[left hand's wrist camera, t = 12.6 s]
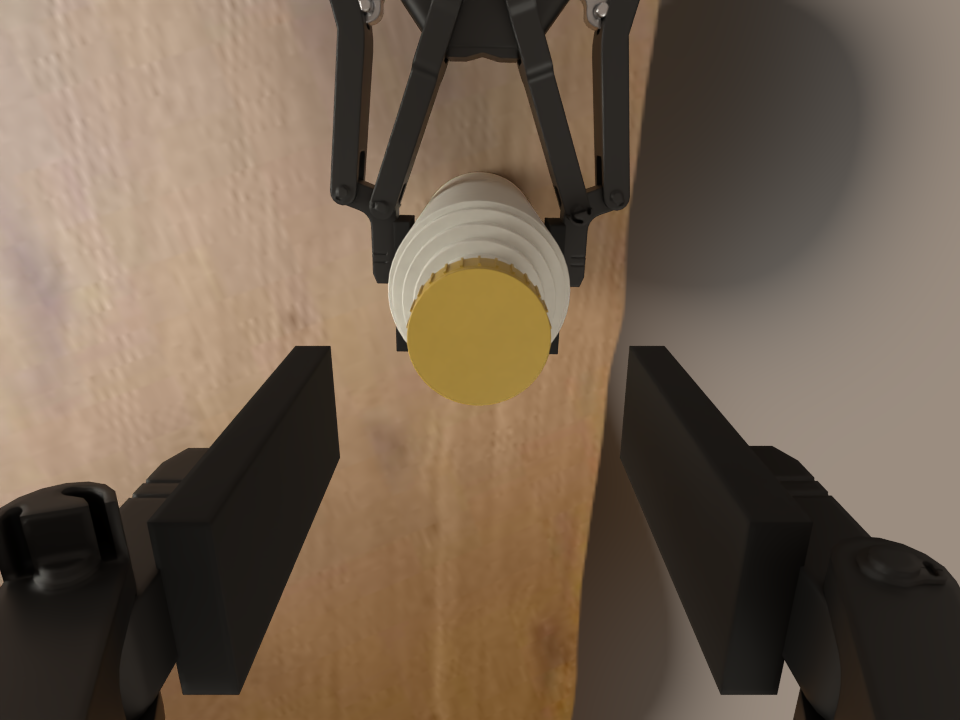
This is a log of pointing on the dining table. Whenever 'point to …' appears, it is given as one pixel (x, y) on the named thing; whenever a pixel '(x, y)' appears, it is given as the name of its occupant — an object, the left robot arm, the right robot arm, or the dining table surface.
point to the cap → (478, 331)
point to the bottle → (479, 243)
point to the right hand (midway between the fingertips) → (477, 343)
